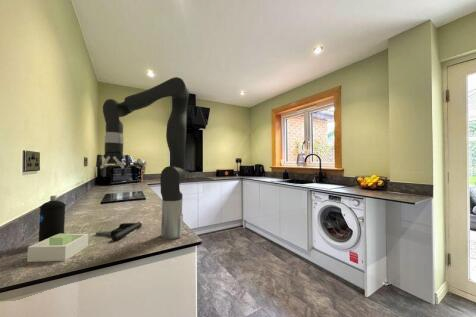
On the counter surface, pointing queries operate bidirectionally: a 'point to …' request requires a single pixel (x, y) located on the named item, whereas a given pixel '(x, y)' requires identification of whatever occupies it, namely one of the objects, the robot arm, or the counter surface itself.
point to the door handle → (121, 231)
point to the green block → (60, 239)
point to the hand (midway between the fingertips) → (113, 176)
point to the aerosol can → (51, 218)
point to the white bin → (57, 249)
